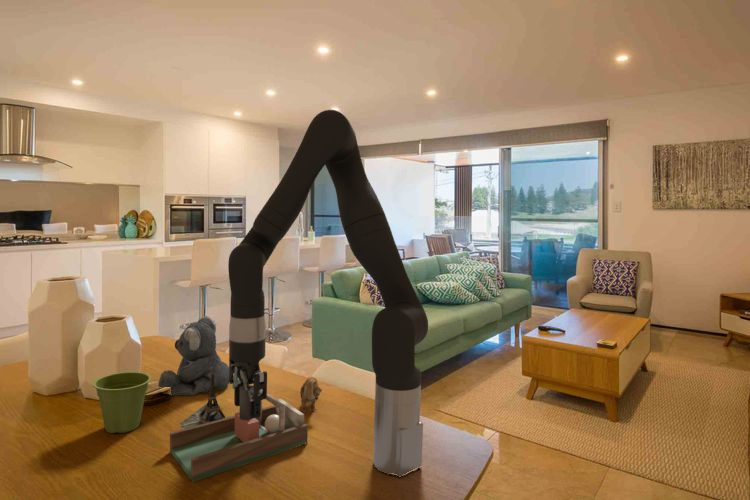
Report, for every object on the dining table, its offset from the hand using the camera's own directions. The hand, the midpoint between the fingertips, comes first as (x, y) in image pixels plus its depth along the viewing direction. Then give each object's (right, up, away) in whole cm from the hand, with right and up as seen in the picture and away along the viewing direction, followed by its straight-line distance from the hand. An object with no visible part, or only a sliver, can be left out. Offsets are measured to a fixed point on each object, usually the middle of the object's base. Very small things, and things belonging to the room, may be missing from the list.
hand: (247, 410), depth 104 cm
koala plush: (-23, -5, +34) cm, 41 cm away
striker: (0, -6, +1) cm, 6 cm away
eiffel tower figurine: (-13, -7, +15) cm, 21 cm away
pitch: (-1, -8, 0) cm, 8 cm away
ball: (+5, -4, +5) cm, 8 cm away
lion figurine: (+11, -7, +22) cm, 26 cm away
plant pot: (-31, -7, +8) cm, 32 cm away
